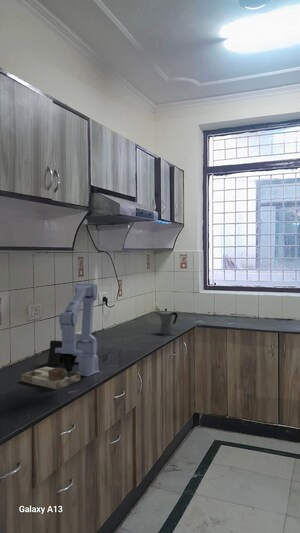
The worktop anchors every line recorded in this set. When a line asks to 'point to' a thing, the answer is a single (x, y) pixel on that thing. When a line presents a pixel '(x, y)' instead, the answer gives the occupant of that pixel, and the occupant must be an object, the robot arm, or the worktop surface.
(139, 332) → the worktop surface
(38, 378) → the trap board
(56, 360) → the phone stand
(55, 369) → the walnut block
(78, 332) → the skincare box
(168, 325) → the coffeepot
